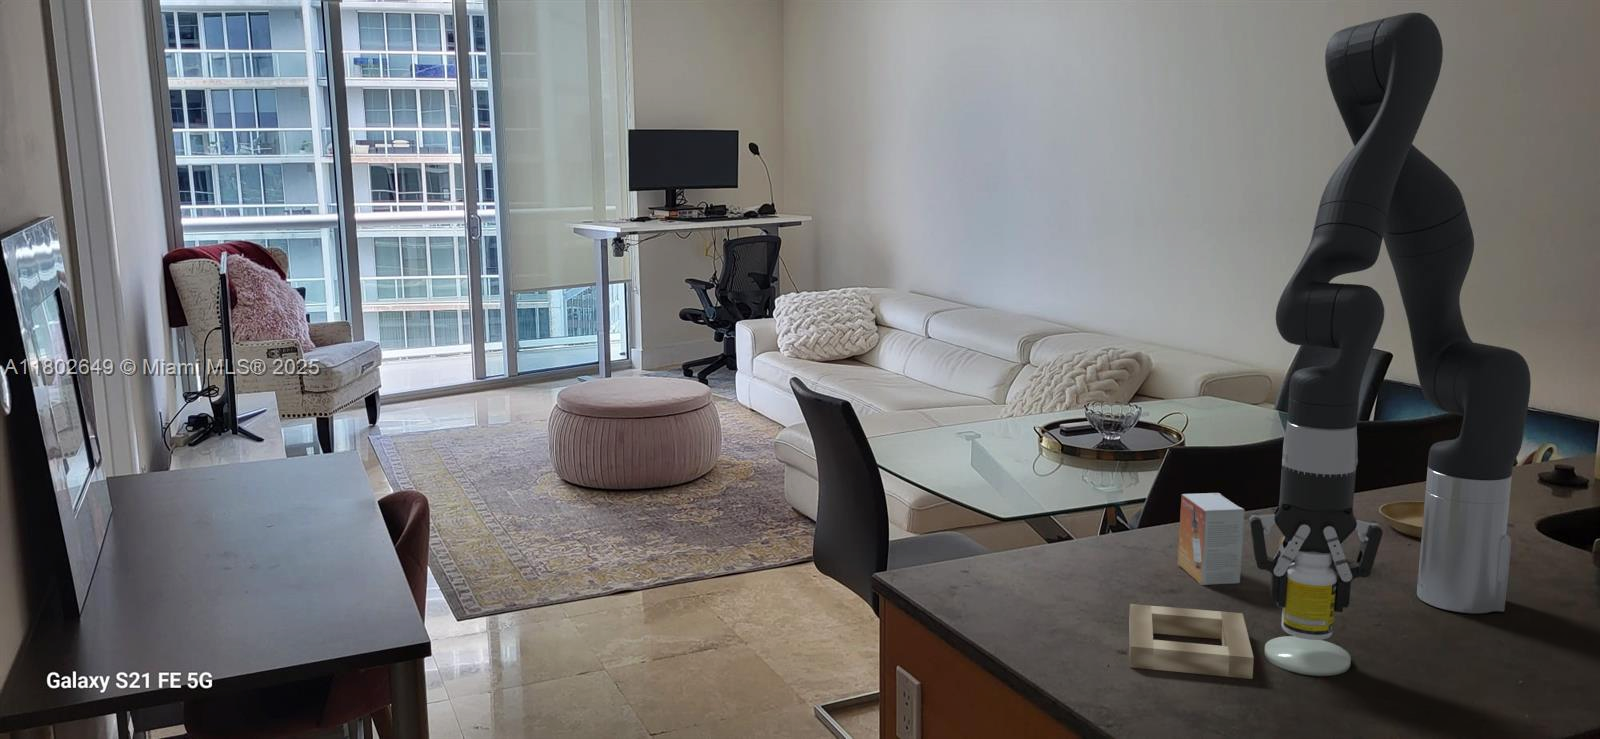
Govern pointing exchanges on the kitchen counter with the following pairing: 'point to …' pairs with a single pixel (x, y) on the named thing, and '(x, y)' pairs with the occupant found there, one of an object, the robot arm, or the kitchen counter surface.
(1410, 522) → the plant saucer
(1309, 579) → the supplement bottle
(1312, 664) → the pale green pebble
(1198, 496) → the small box
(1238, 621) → the pocket block
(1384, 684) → the kitchen counter surface
